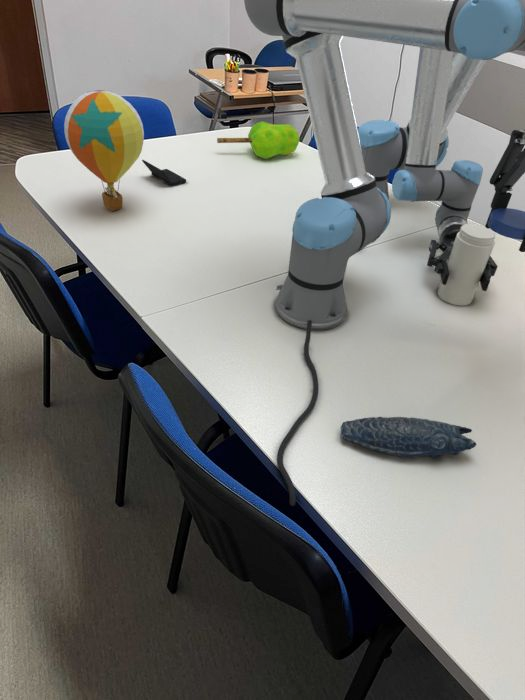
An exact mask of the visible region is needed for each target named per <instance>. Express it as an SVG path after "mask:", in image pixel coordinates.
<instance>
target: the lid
mask: <svg viewBox="0 0 525 700" xmlns="http://www.w3.org/2000/svg"><path fill="white" fill-rule="evenodd" d="M489 214H490V213H489ZM488 217H489V216H488ZM487 220H488V219H487ZM487 224H488V226H489V228H490V229H491V230H493V231H494V232H495V234H498V235H500V236H503V237H505V238H509V239H513V240H518V241H523V238H524V236H525V211H524V210H521V209H517V208H509V207H507V208H499V209H495V210H493V211H492V213H491V214H490V217H489V220H488V223H487Z"/></svg>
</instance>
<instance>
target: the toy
mask: <svg viewBox="0 0 525 700" xmlns="http://www.w3.org/2000/svg"><path fill="white" fill-rule="evenodd" d="M63 128H64V130H63V131H64V132H63V133H64V137H65V141H66V144H67V146H68V148H69V150H70V151H71V152H72V154H73V156H75V158H76V159H77V161H78V162H80V163H81V165H83V166H84V167H85V168H86V169H87V170H88V171H90V172H91V173H92V174H93V175H94V176H96V177H97V178H98V179H100V180H101V183H102V184H101V185H102V187H103V191H102V193H101V198H102V203H103V205H104V207H105V208H106V209H108V210H109V211H110V212H113V211H118V210H121V209H122V208H123V203H124V201H123V195H122V194H121V193H120V192H119V191H118V190H119V188H120V183H118V182H120V181H121V178H122V177H123V176H124V175H125V174H126V173H127V172H128V171H129V170H130V169H131V167H133V165H134V164H135V163H136V161H137V160H138V159H139V158H140V155H141V153H142V150H143V147H144V141H145V131H144V130H145V129H144V125H143V121H142V119H141V116H140V114H139V113H138V111H137V109H136V108H134V106H133V105H132V103H130V102H129V101H128V100H127V99H126V98H124V97H123V96H122V95H119V94H117V93H115V92H112V91H109V90H102V89H101V90H100V89H98V90H92V91H87V92H85V93H82V95H79V96H78V97H77V98H76V99H75V100H73V102H72V103H71V105H70V107H69V108H68V111H67V112H66V114H65V118H64V124H63ZM104 183H105V184H106V185H107V186H106V187H105V186H104ZM115 183H118V185H117V190H116V188H115Z"/></svg>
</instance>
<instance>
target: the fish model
mask: <svg viewBox="0 0 525 700" xmlns="http://www.w3.org/2000/svg"><path fill="white" fill-rule="evenodd" d="M472 431H473V429H471V428H470V427H466V426H460V425H456V424H450V423H448V422H443V421H437V420H431V419H427V418H421V417H420V418H419V417H405V416H392V417H387V416H386V417H385V416H377V417H375V416H373V417H372V416H371V417H363V418H358V419H353V420H347V421H343V422H342V423H341V425H340V432H341V434H340V439H343V440H347V441H349V442H353V443H354V444H355V445H359V446H361V447H363V448H367V449H370V450H371V451H375V452H380V453H383V454H385V453H387V454H389V455H391V456H399V457H407V458H413V457H423V456H427V457H430V458H439V457H440V456H441V455H445V454H451V455H454V456H457V455H459V454H460V453H461V452H464V451H468V450H472V449H474V448H475V447H476V446H477V443H476V441H474V440H473V439H472V438H469V437H467V436H465V435H464V434H470V433H471V432H472Z"/></svg>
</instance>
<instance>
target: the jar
mask: <svg viewBox="0 0 525 700" xmlns="http://www.w3.org/2000/svg"><path fill="white" fill-rule="evenodd" d="M495 239H496V232H494V231H493V230H491V229H490V228H489V229H487V228H486V227H485V225H483V224H479V223H468V224H465V225H463V226H462V227H461V229H460V232H458V233H457V235H456V238H455V241H454V244H453V247H452V250H451V253H450V256H449V259H448V260H447V265H448V270H449V277H448V280H447V283H446V285H443V284H442V279H441V280H440V283H439V286H438V289H437V296H438V297H439V298H440V299H441V300H442V301H444V302H445V303H448V304H451V305H454V306H462V307H463V306H468V305H470V304H471V303H472V302H473V300H474V298H475V295H476V293H477V291H478V287H479V285H480V280H481V277H482V275H483V272H484V270H485V267H486V264H487V262H488V259H489V257H490V256H491V254H492V251H493V250H494V246H495V244H496V241H495Z"/></svg>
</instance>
